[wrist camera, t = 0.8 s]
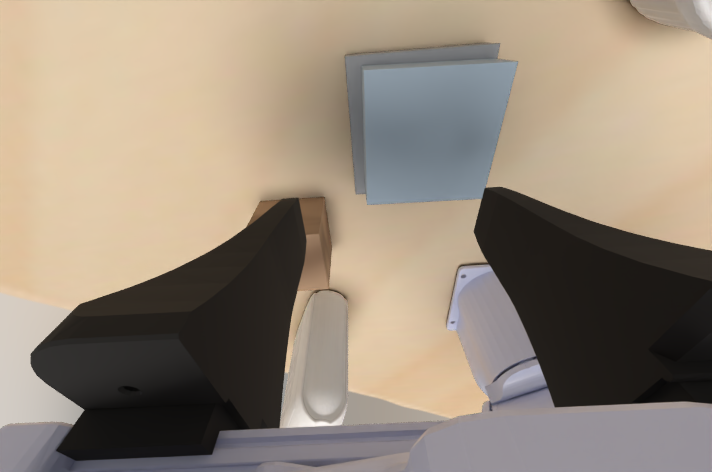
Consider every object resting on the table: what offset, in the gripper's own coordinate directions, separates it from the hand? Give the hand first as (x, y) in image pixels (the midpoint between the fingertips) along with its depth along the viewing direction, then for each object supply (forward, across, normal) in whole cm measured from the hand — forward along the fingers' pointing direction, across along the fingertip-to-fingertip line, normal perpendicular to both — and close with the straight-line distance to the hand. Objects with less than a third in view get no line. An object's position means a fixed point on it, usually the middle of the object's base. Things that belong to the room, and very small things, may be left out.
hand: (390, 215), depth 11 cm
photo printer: (+10, +6, +19) cm, 22 cm away
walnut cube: (+10, +6, +7) cm, 13 cm away
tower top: (+8, -3, -1) cm, 8 cm away
